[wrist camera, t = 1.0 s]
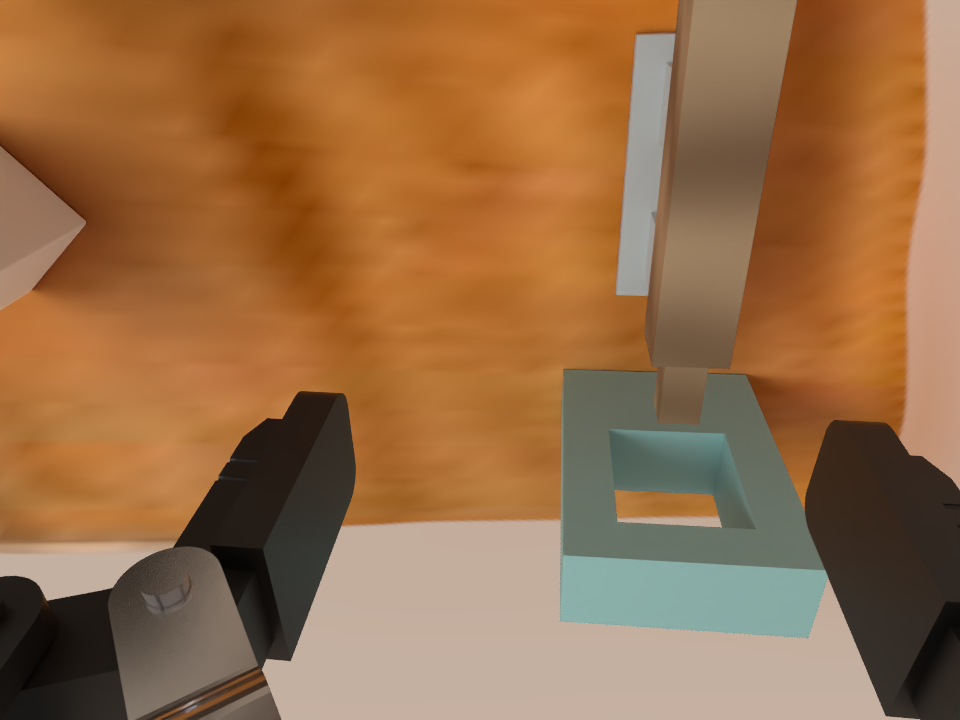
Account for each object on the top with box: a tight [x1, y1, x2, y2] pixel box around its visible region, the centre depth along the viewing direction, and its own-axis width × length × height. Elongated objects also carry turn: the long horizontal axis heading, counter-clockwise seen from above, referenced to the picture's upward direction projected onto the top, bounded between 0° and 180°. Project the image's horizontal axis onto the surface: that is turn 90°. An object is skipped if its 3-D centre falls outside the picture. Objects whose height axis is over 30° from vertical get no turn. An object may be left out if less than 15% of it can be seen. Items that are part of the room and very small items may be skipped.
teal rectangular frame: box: [560, 369, 828, 638], centre depth 30 cm, size 4×9×13 cm, turn 91°
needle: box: [644, 0, 797, 425], centre depth 23 cm, size 19×3×3 cm, turn 1°
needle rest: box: [616, 32, 676, 296], centre depth 27 cm, size 11×4×5 cm, turn 1°
